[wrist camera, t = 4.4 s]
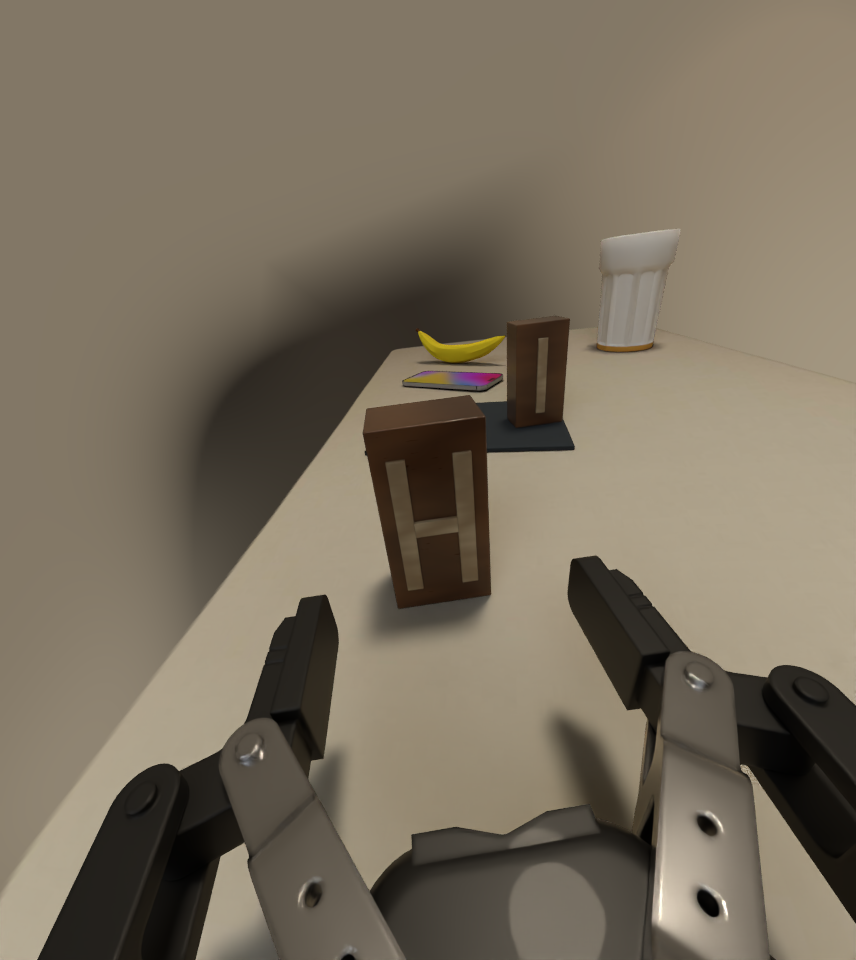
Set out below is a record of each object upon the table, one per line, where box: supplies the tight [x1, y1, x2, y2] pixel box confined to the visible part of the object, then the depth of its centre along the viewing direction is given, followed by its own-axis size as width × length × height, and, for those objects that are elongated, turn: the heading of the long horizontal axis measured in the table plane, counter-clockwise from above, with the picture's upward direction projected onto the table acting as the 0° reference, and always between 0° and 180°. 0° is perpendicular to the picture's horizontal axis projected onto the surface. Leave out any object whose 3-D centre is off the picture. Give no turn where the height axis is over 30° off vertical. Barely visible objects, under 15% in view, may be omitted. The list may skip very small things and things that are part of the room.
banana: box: [416, 329, 505, 363], centre depth 69 cm, size 3×19×6 cm, turn 54°
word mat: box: [365, 401, 575, 455], centre depth 42 cm, size 20×14×1 cm
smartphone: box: [402, 371, 503, 390], centre depth 58 cm, size 7×1×15 cm
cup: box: [597, 229, 681, 352], centre depth 64 cm, size 11×11×17 cm
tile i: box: [507, 316, 570, 428], centre depth 38 cm, size 5×3×10 cm
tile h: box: [363, 395, 491, 609], centre depth 19 cm, size 5×3×10 cm
